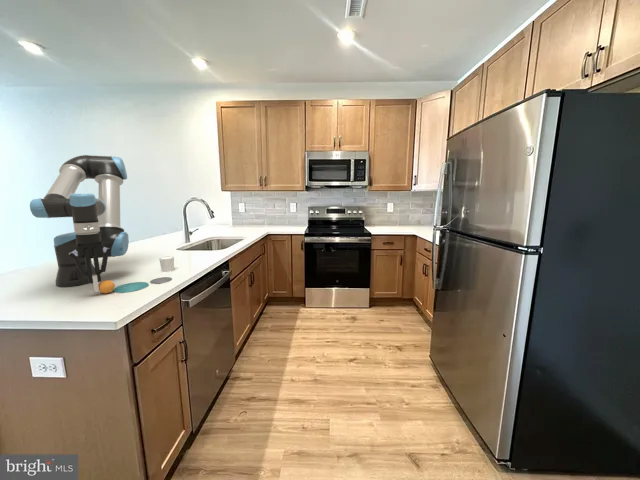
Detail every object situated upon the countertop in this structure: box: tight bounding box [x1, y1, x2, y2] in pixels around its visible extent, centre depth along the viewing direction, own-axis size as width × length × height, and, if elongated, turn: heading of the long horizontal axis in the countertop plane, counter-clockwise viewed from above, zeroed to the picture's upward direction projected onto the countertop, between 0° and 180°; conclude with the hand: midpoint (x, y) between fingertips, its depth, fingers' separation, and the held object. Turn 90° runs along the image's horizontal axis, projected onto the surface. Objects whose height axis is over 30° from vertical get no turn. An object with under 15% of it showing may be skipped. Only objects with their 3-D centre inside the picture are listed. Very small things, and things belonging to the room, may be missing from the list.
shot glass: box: [158, 256, 175, 273], centre depth 143 cm, size 7×7×7 cm
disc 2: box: [149, 276, 173, 285], centre depth 127 cm, size 9×9×1 cm
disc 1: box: [112, 281, 149, 294], centre depth 118 cm, size 13×13×1 cm
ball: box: [98, 279, 116, 294], centre depth 111 cm, size 6×6×6 cm
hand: (96, 290), depth 109 cm, fingers closed
